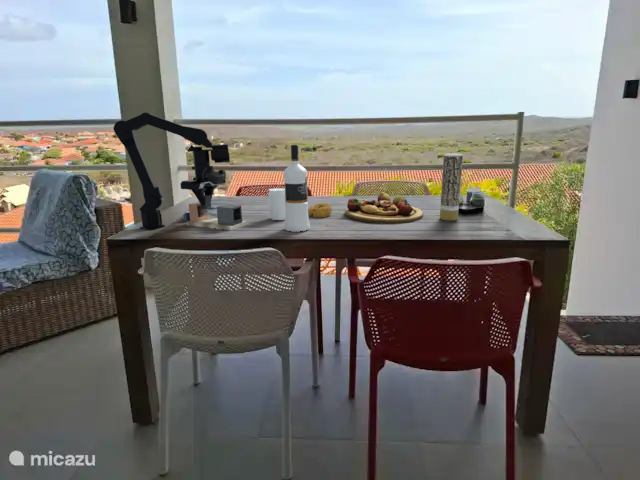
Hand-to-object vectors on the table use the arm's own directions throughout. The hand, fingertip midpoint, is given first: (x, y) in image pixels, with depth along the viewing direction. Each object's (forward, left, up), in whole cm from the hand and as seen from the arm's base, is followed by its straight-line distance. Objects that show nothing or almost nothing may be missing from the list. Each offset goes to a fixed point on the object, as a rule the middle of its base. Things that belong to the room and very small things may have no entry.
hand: (205, 204), depth 157 cm
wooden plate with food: (+42, -58, -8) cm, 72 cm away
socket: (0, +4, -6) cm, 8 cm away
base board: (0, -5, -8) cm, 9 cm away
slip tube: (0, -2, -4) cm, 5 cm away
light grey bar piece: (+12, +16, -8) cm, 21 cm away
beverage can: (+18, -22, -8) cm, 29 cm away
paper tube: (+43, -84, -8) cm, 94 cm away
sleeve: (0, -11, -6) cm, 13 cm away
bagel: (+30, -33, -8) cm, 46 cm away
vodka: (+6, -37, -8) cm, 38 cm away
